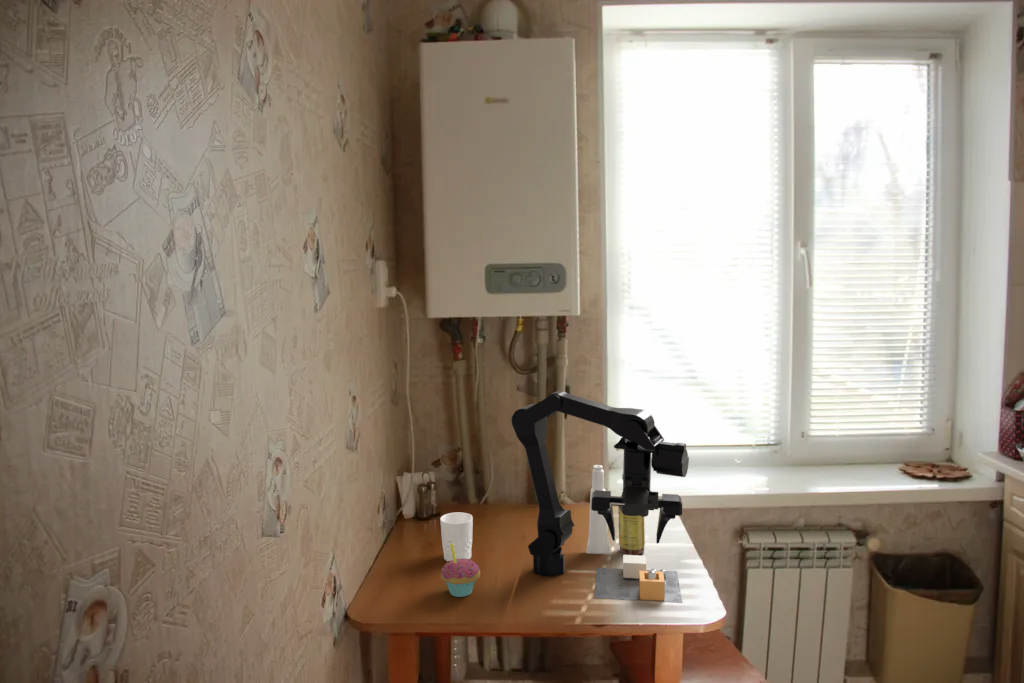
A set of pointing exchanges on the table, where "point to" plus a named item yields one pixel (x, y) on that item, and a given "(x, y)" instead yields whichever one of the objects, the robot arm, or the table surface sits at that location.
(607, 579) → the base plate
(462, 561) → the cupcake
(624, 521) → the sauce bottle
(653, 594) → the orange hollow square block
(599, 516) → the cosmetic bottle
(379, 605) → the table surface
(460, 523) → the white cup
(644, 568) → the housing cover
